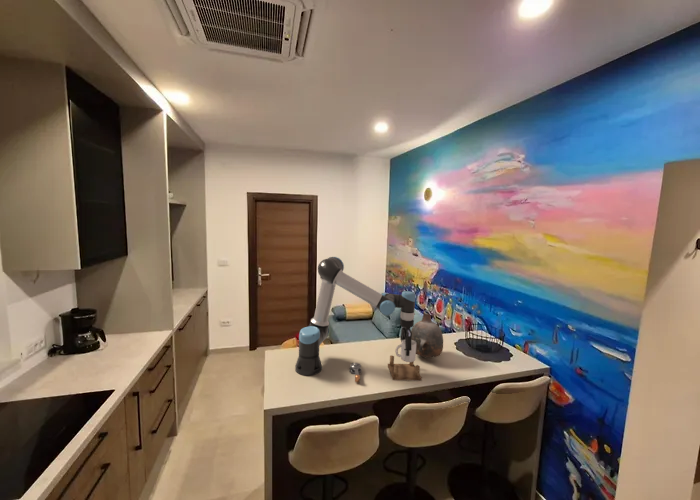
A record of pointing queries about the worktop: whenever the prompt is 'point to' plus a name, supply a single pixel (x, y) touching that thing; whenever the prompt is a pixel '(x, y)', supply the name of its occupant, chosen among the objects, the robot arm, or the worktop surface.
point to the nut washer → (354, 372)
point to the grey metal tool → (356, 370)
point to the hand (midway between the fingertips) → (404, 357)
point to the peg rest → (404, 371)
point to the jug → (427, 337)
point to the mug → (402, 355)
